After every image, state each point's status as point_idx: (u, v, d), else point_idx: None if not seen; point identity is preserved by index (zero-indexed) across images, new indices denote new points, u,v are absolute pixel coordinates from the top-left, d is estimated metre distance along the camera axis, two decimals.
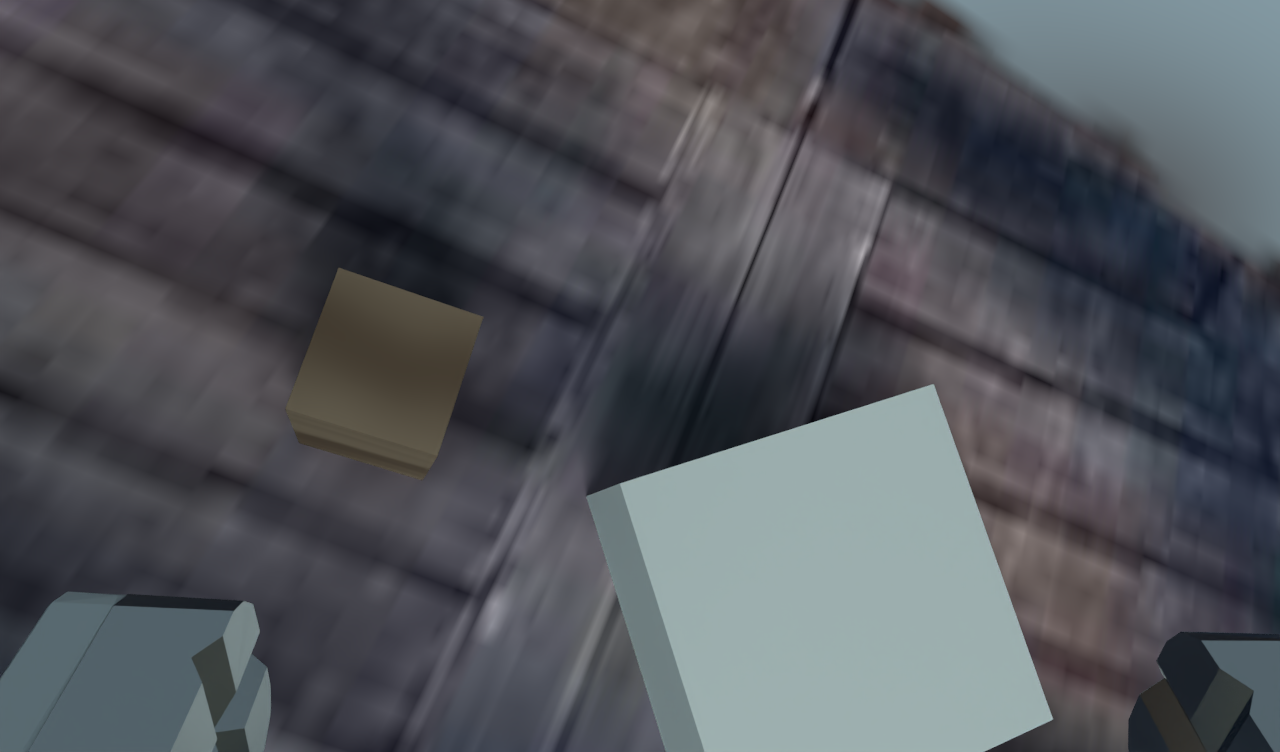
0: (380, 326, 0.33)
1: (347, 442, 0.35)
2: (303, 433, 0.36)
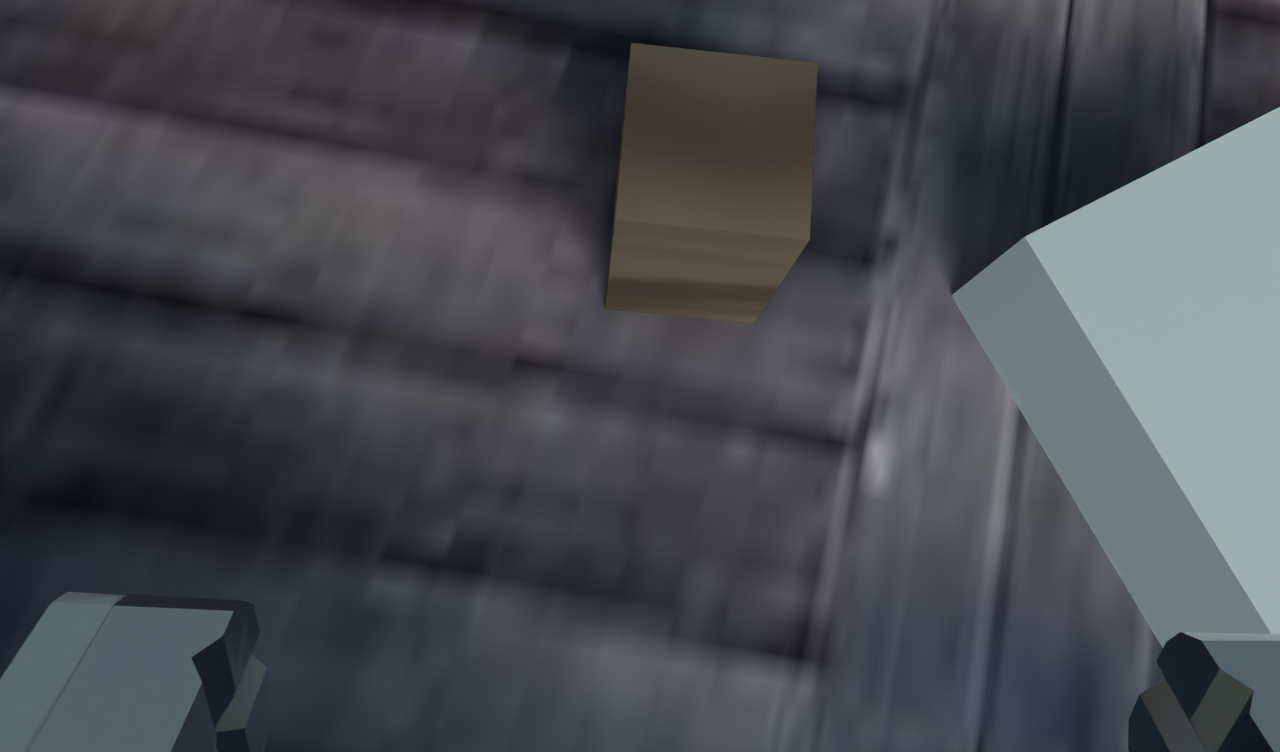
0: (699, 100, 0.26)
1: (678, 271, 0.29)
2: (620, 278, 0.30)
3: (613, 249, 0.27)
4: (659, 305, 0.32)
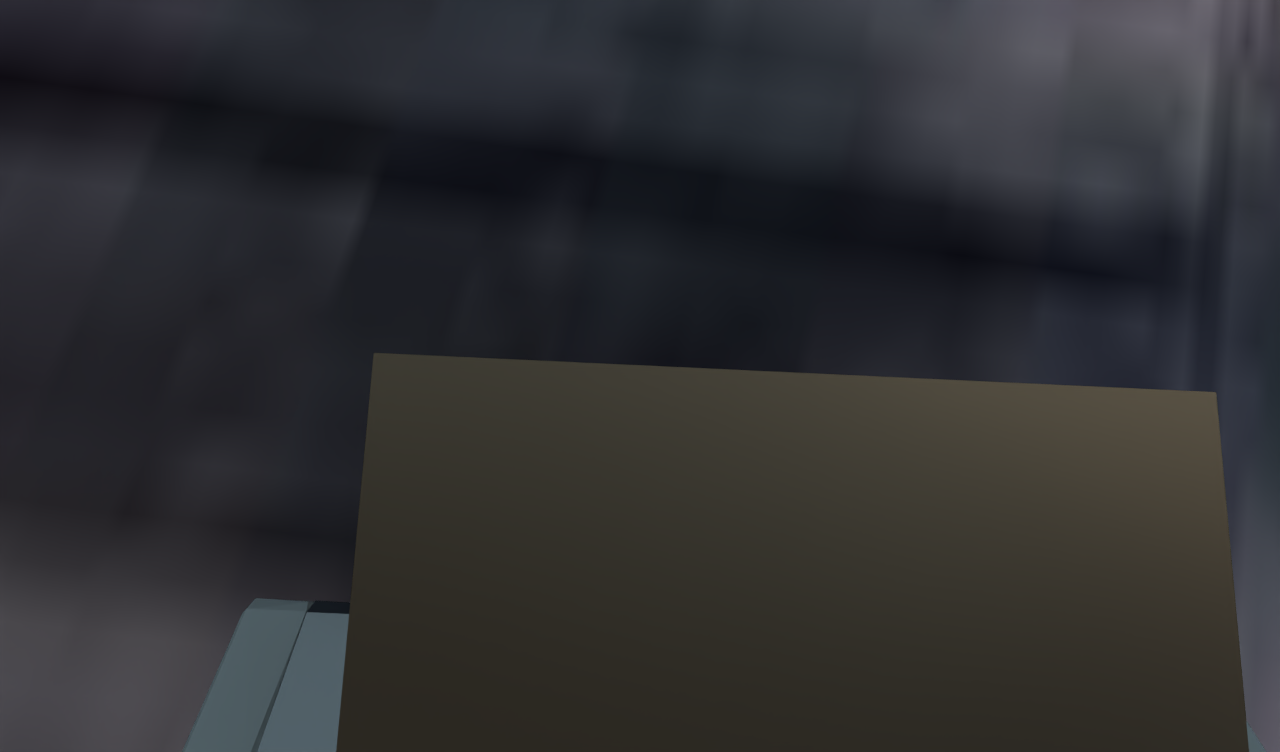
0: (701, 623, 0.06)
1: None
2: None
3: None
4: None
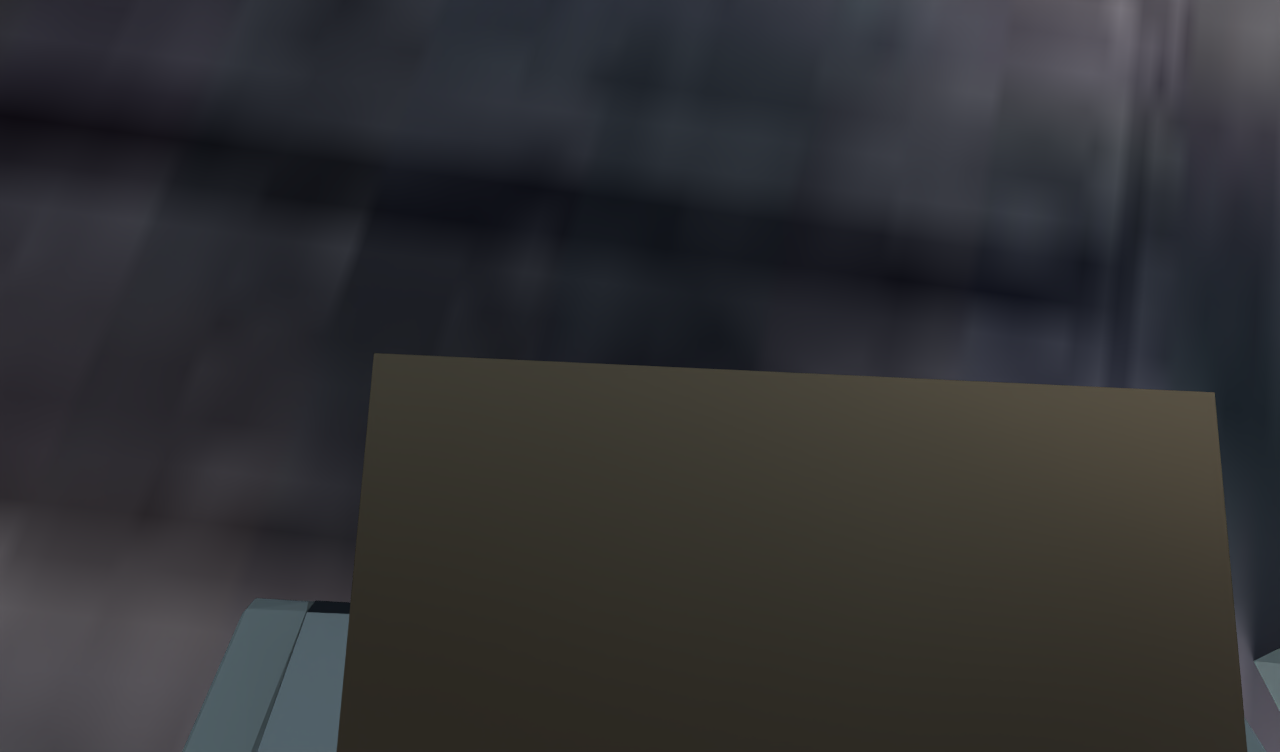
0: (701, 624, 0.06)
1: None
2: None
3: None
4: None
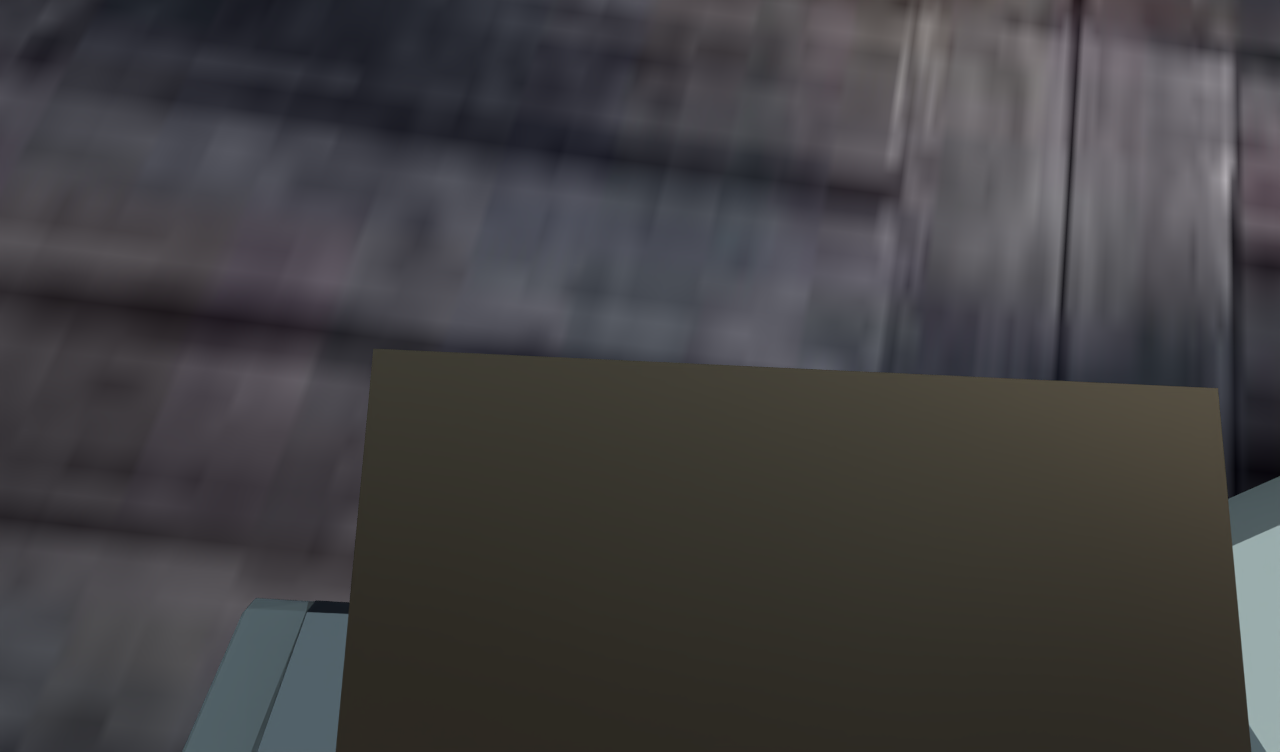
0: (701, 621, 0.05)
1: None
2: None
3: None
4: None
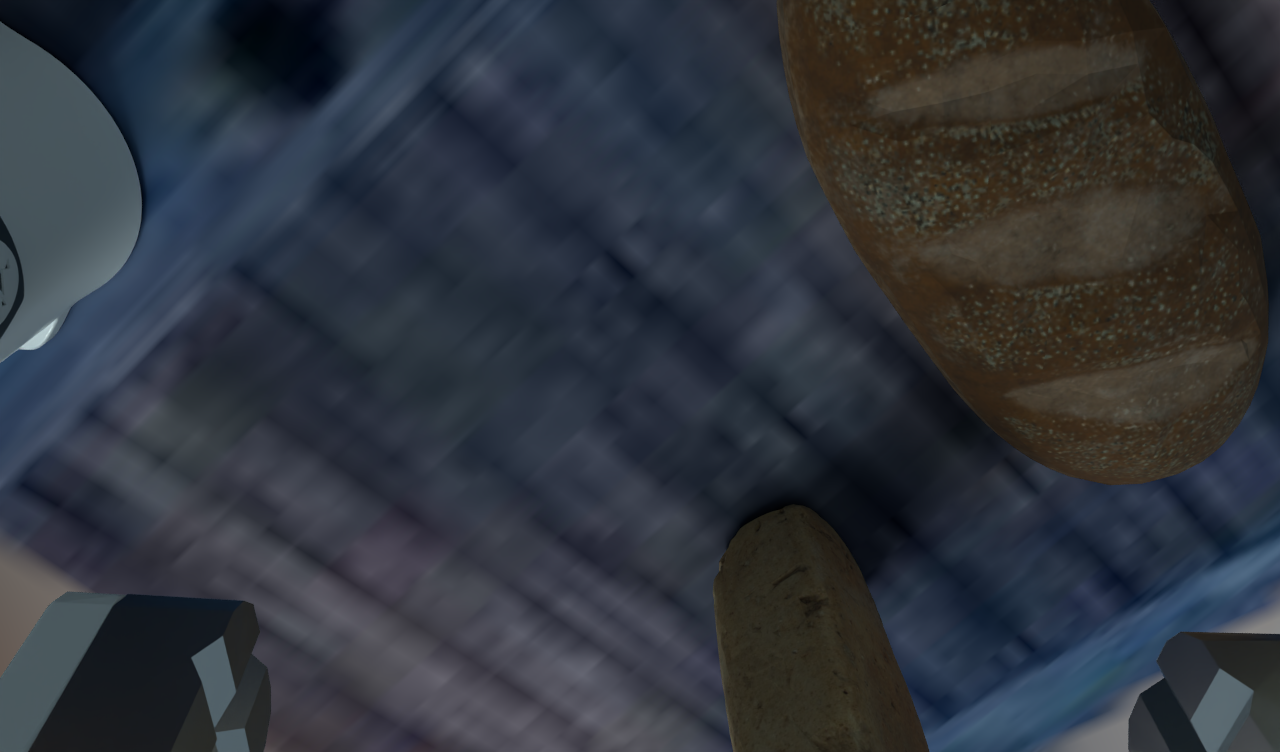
0: None
1: None
2: None
3: None
4: None
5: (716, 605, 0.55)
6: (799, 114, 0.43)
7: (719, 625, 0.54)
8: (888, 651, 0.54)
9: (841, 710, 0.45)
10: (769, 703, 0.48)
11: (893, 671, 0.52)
